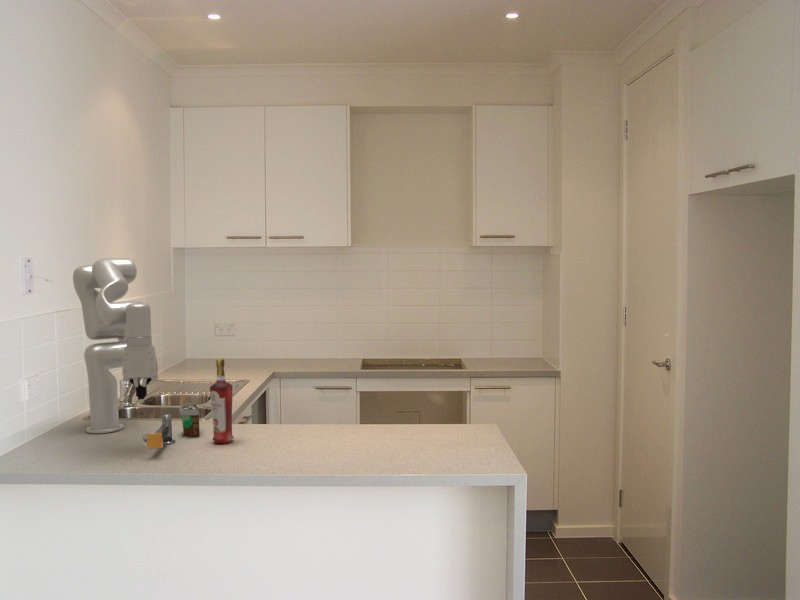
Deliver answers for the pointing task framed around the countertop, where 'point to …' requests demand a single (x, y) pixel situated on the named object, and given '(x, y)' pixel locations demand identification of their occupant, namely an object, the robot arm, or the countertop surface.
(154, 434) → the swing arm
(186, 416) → the food container
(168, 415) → the pivot post
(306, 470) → the countertop surface
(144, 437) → the label tile
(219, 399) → the liquor
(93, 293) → the robot arm
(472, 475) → the countertop surface
